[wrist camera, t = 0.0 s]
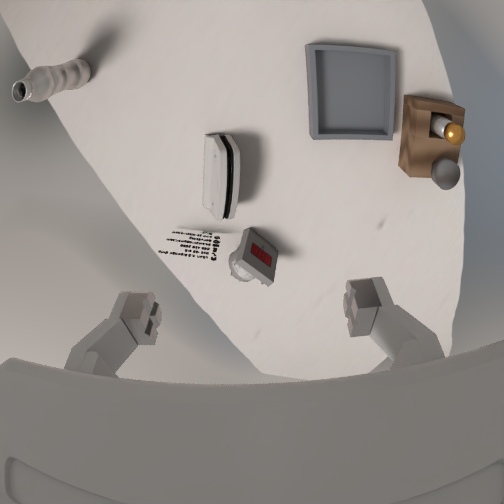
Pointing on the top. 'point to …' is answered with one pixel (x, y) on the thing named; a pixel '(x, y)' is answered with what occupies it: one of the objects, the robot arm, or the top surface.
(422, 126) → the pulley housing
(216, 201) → the black-striped white block
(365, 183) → the top surface
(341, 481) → the robot arm
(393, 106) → the tray
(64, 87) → the plastic bottle
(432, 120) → the gold-capped glass vial
